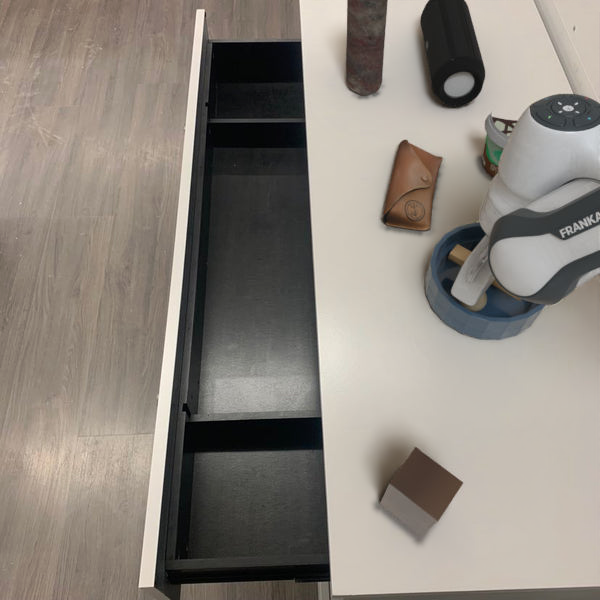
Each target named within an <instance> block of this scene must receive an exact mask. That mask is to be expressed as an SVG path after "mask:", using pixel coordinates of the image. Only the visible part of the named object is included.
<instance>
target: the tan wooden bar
mask: <svg viewBox="0 0 600 600" xmlns="http://www.w3.org/2000/svg"><path fill="white" fill-rule="evenodd" d="M470 254H471V251H469V250H467V249H466V248H464V247H462V246H460V245H459V244H457V245H456V247H455V248H454V249H453V250H452V251H451V252H450V254H449V257H448V259H450V260H452V261H453V262H455V263H457V264H458V265H460V266H463V264H464V263H465V261H466V259H467V258H468V256H469V255H470ZM492 285H494V286H495V287H497V288H499V289H500V290H502V291H504V292H505V293H507V294H509V295H510V296H512V297H514V298H516V299H517V300H519V301H521V300H522V299H520V298H518V297H516V296H514V295H512V294H510V293H508V292H507V291H506V290H504V289H503V288H502V287H501V286H500V285H499V284H498V282H497V281H496V280H494V281H493V282H492Z"/></svg>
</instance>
